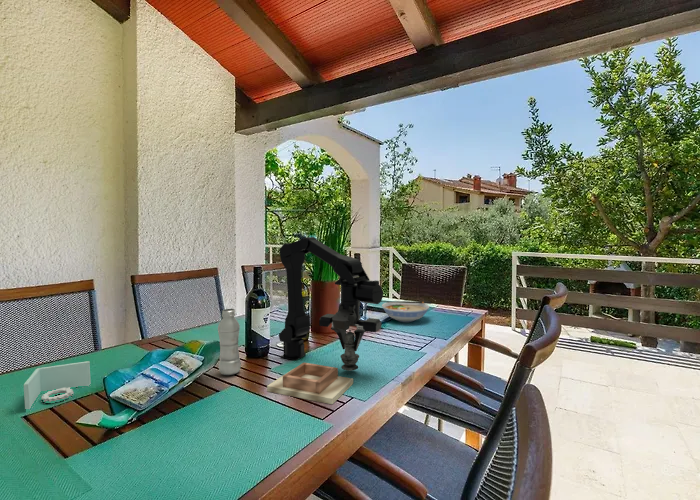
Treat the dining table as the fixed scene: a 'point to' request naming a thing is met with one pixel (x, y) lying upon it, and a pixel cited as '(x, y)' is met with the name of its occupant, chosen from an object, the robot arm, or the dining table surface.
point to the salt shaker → (349, 353)
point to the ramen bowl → (405, 310)
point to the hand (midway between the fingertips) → (349, 349)
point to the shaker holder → (312, 383)
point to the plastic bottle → (229, 343)
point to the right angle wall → (56, 381)
